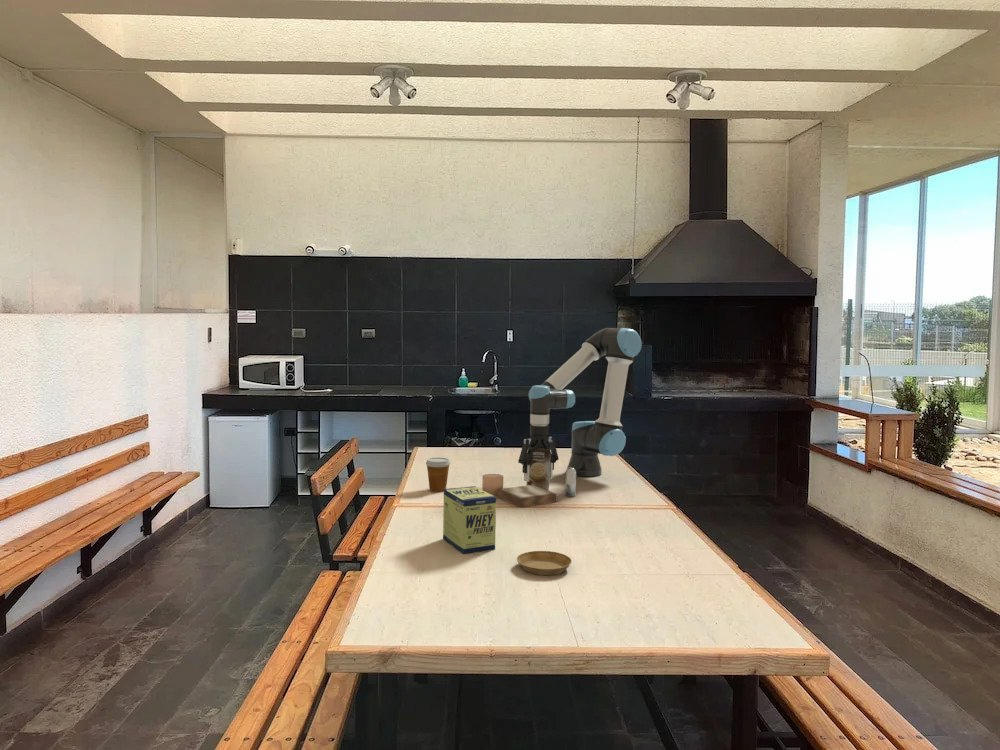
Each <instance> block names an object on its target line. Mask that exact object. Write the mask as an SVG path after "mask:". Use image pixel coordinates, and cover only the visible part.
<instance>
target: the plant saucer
mask: <svg viewBox="0 0 1000 750" xmlns="http://www.w3.org/2000/svg"><path fill="white" fill-rule="evenodd" d="M516 562H517V563H518V564H519V565H520V567H522V568H523V570H525V571H526V572H528V573H529V574H534V575H538V576H554V575H559V574H561V573H563V572H565V570H567V569H568V568H569V566H570V565H571V564H572V562H573V561H572V559H571V557H569V556H568V555H566V554H564V553H560V552H557V551H549V550H533V551H527V552H524V553H520V554H519V555H517V557H516Z"/></svg>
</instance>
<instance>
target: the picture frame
mask: <svg viewBox="0 0 1000 750" xmlns="http://www.w3.org/2000/svg"><path fill="white" fill-rule="evenodd" d="M526 485H527V484H526ZM526 485H521V486H512V487H503V489H497V496H496V498H498V499H501V500H503V501H505V502H508V503H510V504H512V505H515V506H516V507H518V508H523V507H531V506H537V505H544V504H552V503H557V501H558V500H557V498H558V497H557V495H558V494H557V493H555V492H553V491H550V490H545V489H542V488H540V487H537V486H534V485H527V486H526Z"/></svg>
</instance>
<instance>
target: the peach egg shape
mask: <svg viewBox="0 0 1000 750" xmlns="http://www.w3.org/2000/svg"><path fill="white" fill-rule="evenodd" d="M503 488H504V475H503V474H499V473H485V474H483V475H482V488H481V490H483V491H485V492H487V493H489V494H491V495H493V496H495V497H496V498H497V489H503Z"/></svg>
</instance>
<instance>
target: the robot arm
mask: <svg viewBox="0 0 1000 750" xmlns="http://www.w3.org/2000/svg"><path fill="white" fill-rule="evenodd" d="M641 350H642V339H641V337H640V335H639V333H638V332H637V331H636V330H634V329H633V328H632V329H631V328H627V327H626V328H625V327H621V328H620V327H618V328H617V327H605V328H603V329H600V330H599V331H597V332H595V333H593V334H592V335H591V336H590V337H588V338H587V339H586V340H585V341H584V342H583V343H582V344H581V348H580V349H579V350H577V352H575V353H574V354H573V355H572V356H571V357H570V358H568V360H566V362H564V363H563V364H562V365H561V366H560V367H559V368H558V369H557V370H556V371H554V372H553V374H551V375H550V376H549V377H548V378H547V379H545V381H543V383H541V384H540V385H532V386H531V388H530V389H529V391H528V399H529V401H530V405H529V406H530V408H529V409H530V411H529V412H530V413H529V414H530V415H529V417H530V418H529V422H530V423H529V424H530V425H529V435H530V436H529V438H523V439H522V447H521V450H520V455H519V458H518V461H517V462H518V464H521V465H522V473H523V481H524V482H526V483H527V482H529V468H530V465H528V463H529V461H530V459H531V457H532V455H533V450H536V449H537V448H546V449H548V448H550V478H549V480H553V474H554V473H553V471H554V470H555V463H557V461H559V459H560V458H559V454H558V450H557V447H556V437H555V436H551V435H550V436H549V434H550V426H549V424H550V410H559V409H561V410H562V409H569V408H571V409H572V407H573V406H574V405H575V404H576V395H575V393H574V391H573V390H571V389H564V388H565V387H566V386H568V385H569V384H570V383H571V382H572V381H573V380H574V379H575V378H576V377H577V376H579V374H581V373H582V372H583V371H584V370H585V369H586V368H588V366H590V365H591V364H592V362H593V361H595V362H596V361H598V360H600V359H601V358H602V357H604V356H605V359H606V360H607V363H608V364H607V370H606V373H605V374H606V375H605V379H604V380H605V382H604V386H603V387H604V388H603V393H602V399H601V406H600V412H599V417H598V419H597V418H596V420H585V421H574V422H573V423H572V427H571V452H570V453H571V454H570V459H569V461H568V465H567V466H566V470H567V469H568V468H570V467H572V468H574V469H575V470H576V477H598V476H600V475H602V467H601V462H600V459H599V454H600V455H603V456H605V457H606V456H608V457H615V456H617V455H619V454H620V453H621V452H622V451H624V448H625V446H626V441H627V437H626V435H625V432H623V431H622V430H623V424H622V423H621V415H622V414H621V413H622V408H623V401H624V397H625V391H626V384H627V378H628V372H629V366H630V365H631V364H632V363H633V362H634V358H635V357H636V356H638V355H639V353H640V352H641ZM548 444H549V445H548ZM528 447H529V449H531V452H530V453H529V454H528Z"/></svg>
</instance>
